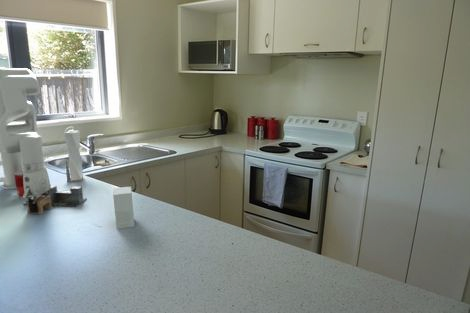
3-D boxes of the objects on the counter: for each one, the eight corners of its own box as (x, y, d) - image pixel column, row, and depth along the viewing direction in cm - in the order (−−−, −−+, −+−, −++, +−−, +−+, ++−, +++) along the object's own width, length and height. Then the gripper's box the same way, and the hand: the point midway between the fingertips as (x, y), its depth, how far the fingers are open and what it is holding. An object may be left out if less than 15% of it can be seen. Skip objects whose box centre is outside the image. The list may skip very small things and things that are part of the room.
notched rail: (23, 205, 147) (21, 189, 146) (37, 198, 156) (35, 183, 154) (76, 207, 145) (74, 191, 143) (87, 199, 154) (85, 184, 152)
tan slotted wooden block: (28, 213, 138) (26, 200, 137) (38, 207, 145) (36, 195, 143) (42, 213, 138) (40, 200, 137) (51, 208, 144) (50, 195, 143)
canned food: (31, 197, 157) (27, 174, 155) (13, 197, 157) (9, 174, 155) (40, 191, 165) (37, 169, 162) (24, 191, 165) (20, 169, 162)
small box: (116, 220, 131) (113, 187, 128) (134, 218, 133) (131, 186, 130) (116, 229, 123) (112, 194, 121) (134, 226, 125) (131, 192, 122)
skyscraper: (69, 178, 186) (63, 126, 180) (85, 176, 189) (79, 125, 182) (66, 182, 179) (60, 128, 172) (83, 181, 181) (77, 128, 175)
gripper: (27, 172, 128) (34, 217, 132) (55, 161, 145) (61, 201, 149) (9, 172, 129) (16, 217, 133) (39, 161, 146) (44, 201, 150)
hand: (39, 208), depth 141 cm, fingers closed on tan slotted wooden block, 6 cm apart
